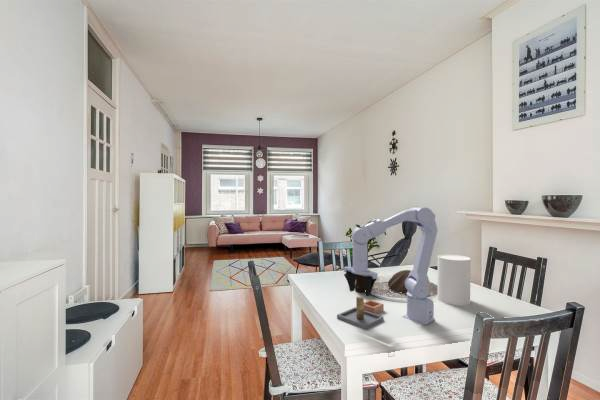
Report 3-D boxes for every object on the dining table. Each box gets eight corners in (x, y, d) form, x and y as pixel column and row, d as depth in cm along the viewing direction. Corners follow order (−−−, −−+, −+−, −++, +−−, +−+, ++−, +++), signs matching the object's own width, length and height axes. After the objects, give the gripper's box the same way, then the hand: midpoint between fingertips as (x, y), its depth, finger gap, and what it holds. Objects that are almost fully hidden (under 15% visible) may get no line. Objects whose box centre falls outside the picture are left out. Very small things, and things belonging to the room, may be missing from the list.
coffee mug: (370, 295, 146) (370, 274, 146) (352, 293, 148) (352, 273, 147) (370, 287, 157) (370, 268, 157) (353, 286, 159) (353, 268, 159)
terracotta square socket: (383, 311, 125) (383, 303, 125) (374, 316, 121) (374, 308, 121) (369, 307, 130) (369, 299, 130) (360, 311, 126) (360, 303, 126)
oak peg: (365, 318, 117) (365, 298, 116) (360, 320, 115) (360, 299, 115) (359, 316, 119) (359, 296, 118) (355, 318, 117) (354, 297, 117)
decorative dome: (435, 290, 154) (435, 270, 154) (413, 298, 142) (413, 277, 142) (402, 281, 169) (402, 263, 169) (380, 288, 157) (380, 269, 157)
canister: (433, 300, 138) (433, 257, 138) (442, 293, 148) (443, 253, 148) (465, 307, 129) (465, 261, 129) (473, 299, 139) (473, 256, 139)
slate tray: (383, 321, 116) (383, 316, 116) (365, 330, 108) (365, 325, 108) (355, 311, 126) (355, 307, 126) (337, 319, 118) (337, 314, 118)
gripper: (339, 257, 120) (339, 291, 120) (369, 263, 109) (369, 300, 109) (350, 254, 125) (350, 287, 125) (380, 260, 114) (380, 295, 114)
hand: (360, 293), depth 117 cm, fingers open, 7 cm apart
